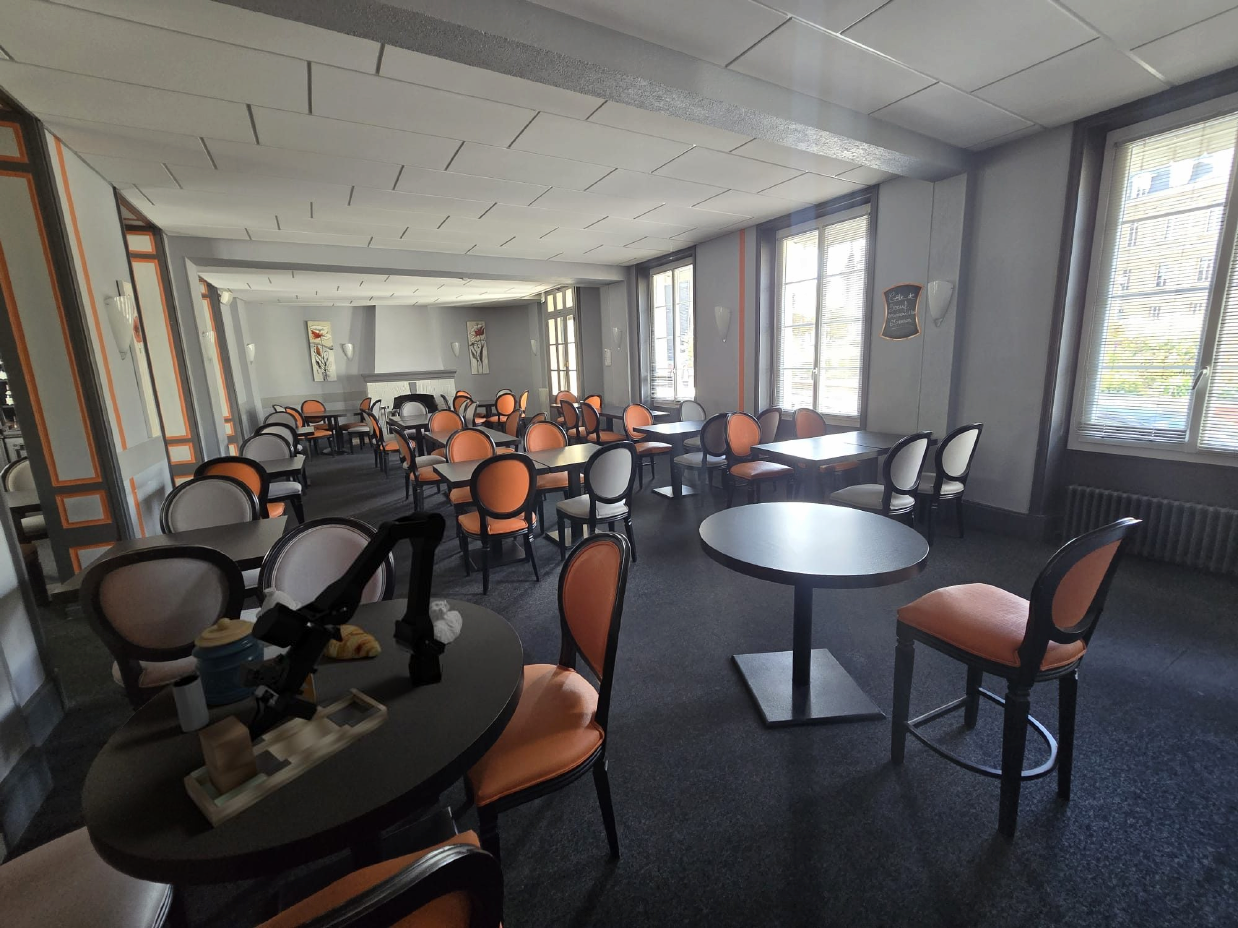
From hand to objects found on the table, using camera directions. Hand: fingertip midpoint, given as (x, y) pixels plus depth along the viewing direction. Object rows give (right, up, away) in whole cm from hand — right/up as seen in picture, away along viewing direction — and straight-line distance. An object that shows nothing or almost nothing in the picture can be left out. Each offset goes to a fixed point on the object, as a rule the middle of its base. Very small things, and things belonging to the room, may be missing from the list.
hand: (246, 742), depth 93 cm
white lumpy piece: (+19, +2, +48) cm, 52 cm away
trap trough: (+4, -6, +7) cm, 10 cm away
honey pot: (-22, 0, +46) cm, 51 cm away
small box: (-6, -4, +23) cm, 24 cm away
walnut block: (-1, -6, -1) cm, 6 cm away
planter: (-23, -6, +17) cm, 29 cm away
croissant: (-5, 0, +43) cm, 44 cm away
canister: (-23, -3, +29) cm, 37 cm away
